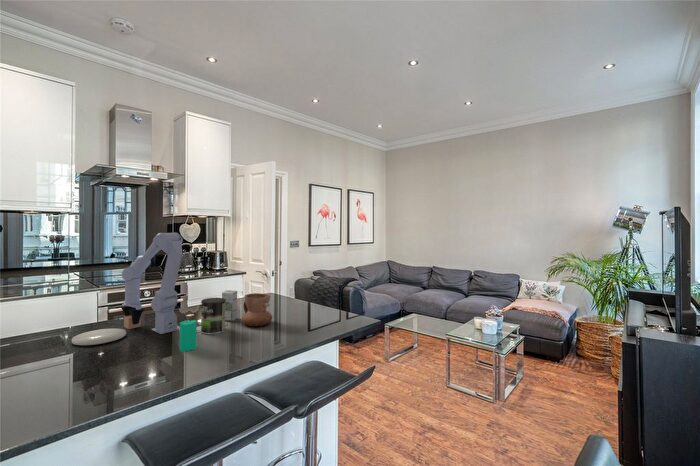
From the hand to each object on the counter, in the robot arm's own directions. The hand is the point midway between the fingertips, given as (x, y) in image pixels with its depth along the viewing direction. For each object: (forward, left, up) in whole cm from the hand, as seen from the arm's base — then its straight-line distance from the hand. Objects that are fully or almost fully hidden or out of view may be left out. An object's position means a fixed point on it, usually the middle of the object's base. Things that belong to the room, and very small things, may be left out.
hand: (132, 322), depth 154 cm
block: (0, 0, -2) cm, 2 cm away
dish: (-8, +15, -2) cm, 17 cm away
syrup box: (-24, -35, -2) cm, 42 cm away
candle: (-46, -2, -2) cm, 46 cm away
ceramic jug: (-40, -39, -2) cm, 56 cm away
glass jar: (-34, -20, -2) cm, 40 cm away
